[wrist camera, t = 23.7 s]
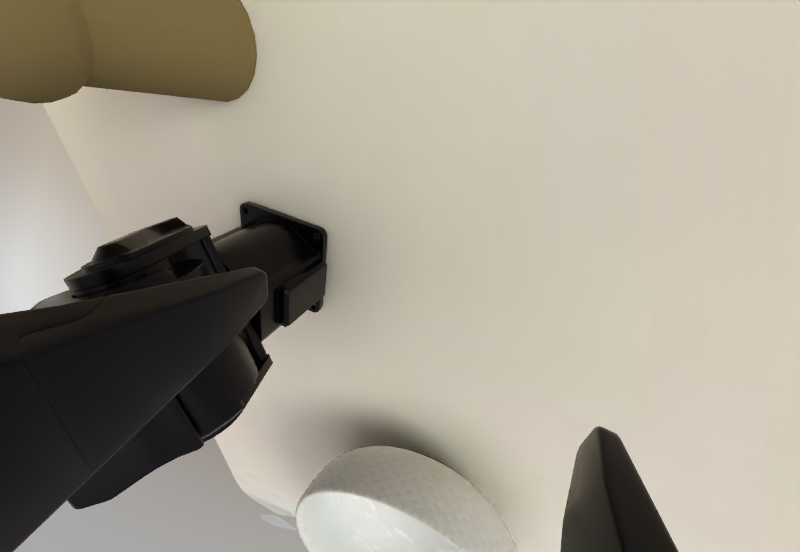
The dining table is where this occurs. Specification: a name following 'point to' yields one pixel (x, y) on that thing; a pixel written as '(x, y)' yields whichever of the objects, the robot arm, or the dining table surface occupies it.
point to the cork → (125, 48)
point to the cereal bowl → (397, 507)
